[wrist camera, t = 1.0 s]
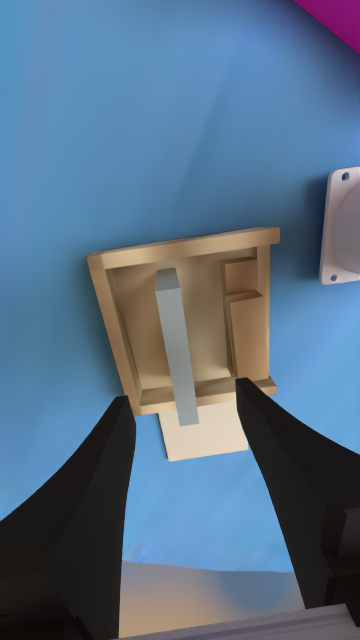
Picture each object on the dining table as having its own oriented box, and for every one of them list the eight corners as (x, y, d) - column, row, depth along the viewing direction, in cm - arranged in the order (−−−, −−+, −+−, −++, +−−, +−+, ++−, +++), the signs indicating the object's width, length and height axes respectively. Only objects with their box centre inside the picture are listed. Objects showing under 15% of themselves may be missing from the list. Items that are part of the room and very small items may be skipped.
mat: (244, 391, 25) (245, 393, 24) (246, 446, 28) (247, 449, 27) (157, 404, 25) (157, 407, 24) (169, 458, 28) (169, 461, 27)
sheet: (175, 267, 19) (180, 287, 13) (190, 373, 23) (199, 423, 17) (157, 270, 19) (155, 291, 13) (175, 375, 23) (179, 426, 17)
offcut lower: (250, 256, 19) (257, 259, 17) (252, 364, 23) (259, 374, 21) (220, 260, 19) (224, 264, 17) (227, 368, 23) (232, 378, 21)
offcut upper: (255, 289, 18) (263, 296, 17) (261, 366, 21) (268, 378, 19) (224, 296, 18) (229, 302, 17) (233, 372, 21) (238, 383, 20)
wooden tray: (264, 226, 19) (280, 227, 16) (264, 375, 24) (276, 394, 21) (96, 251, 19) (85, 256, 16) (134, 395, 24) (131, 416, 21)
